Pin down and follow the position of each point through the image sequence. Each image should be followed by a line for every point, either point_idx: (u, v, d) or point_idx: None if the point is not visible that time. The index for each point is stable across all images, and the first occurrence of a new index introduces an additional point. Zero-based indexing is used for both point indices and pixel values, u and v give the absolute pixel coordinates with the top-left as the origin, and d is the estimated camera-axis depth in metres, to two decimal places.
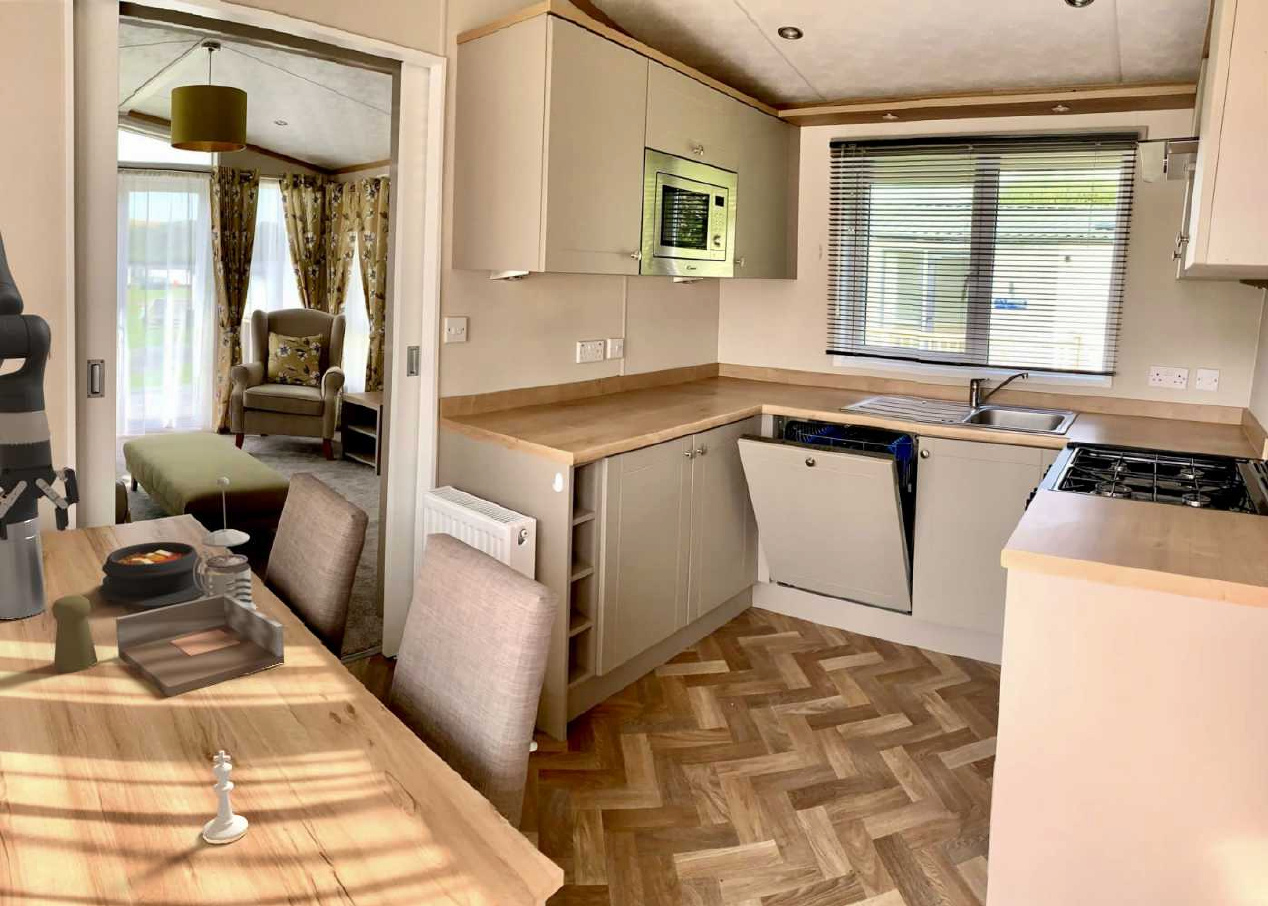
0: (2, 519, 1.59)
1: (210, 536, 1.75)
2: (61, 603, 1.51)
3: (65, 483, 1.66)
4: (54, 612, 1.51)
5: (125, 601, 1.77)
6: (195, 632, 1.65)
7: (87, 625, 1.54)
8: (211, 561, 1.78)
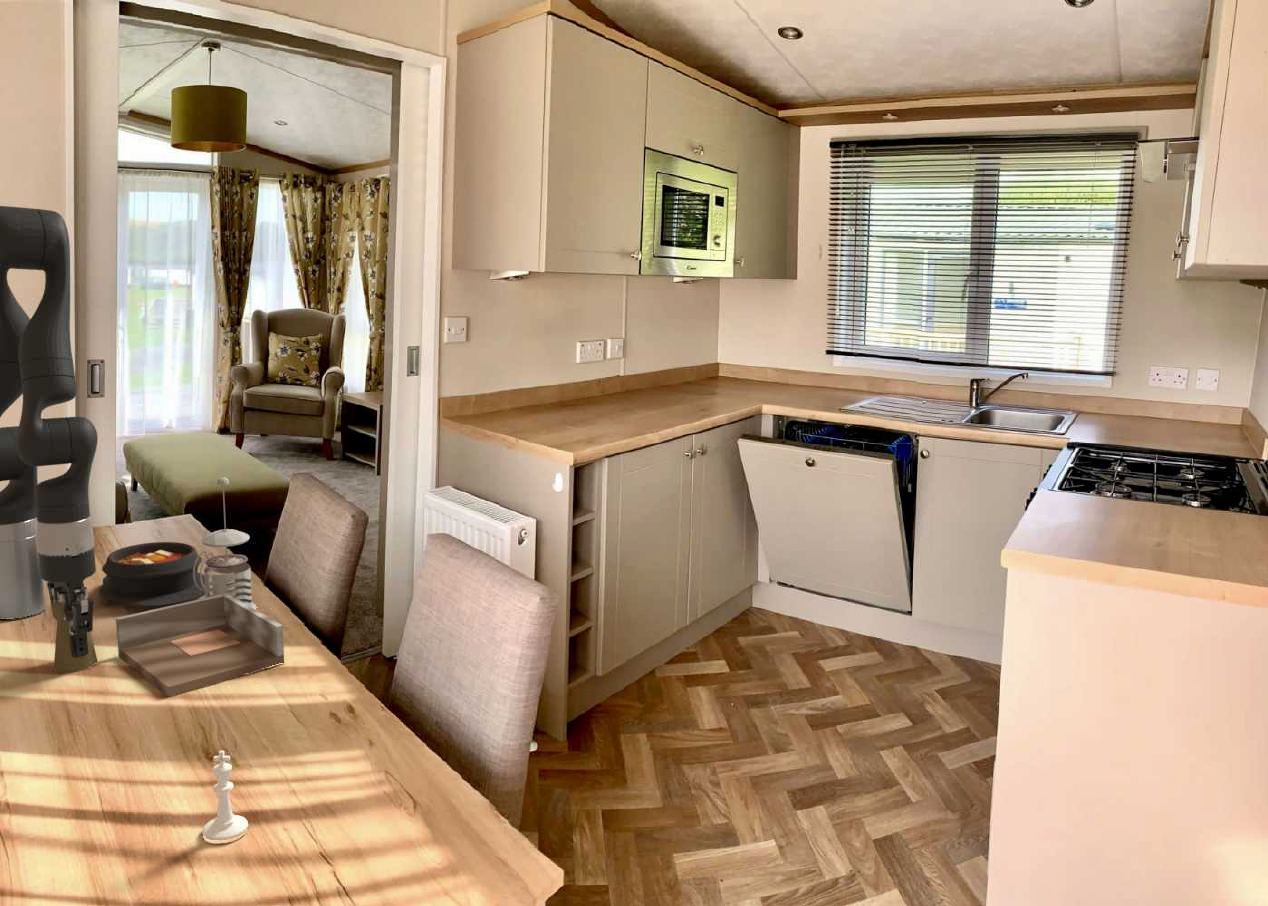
0: (85, 632, 1.53)
1: (210, 536, 1.75)
2: None
3: None
4: (54, 612, 1.51)
5: (125, 601, 1.77)
6: (195, 632, 1.65)
7: None
8: (211, 561, 1.78)
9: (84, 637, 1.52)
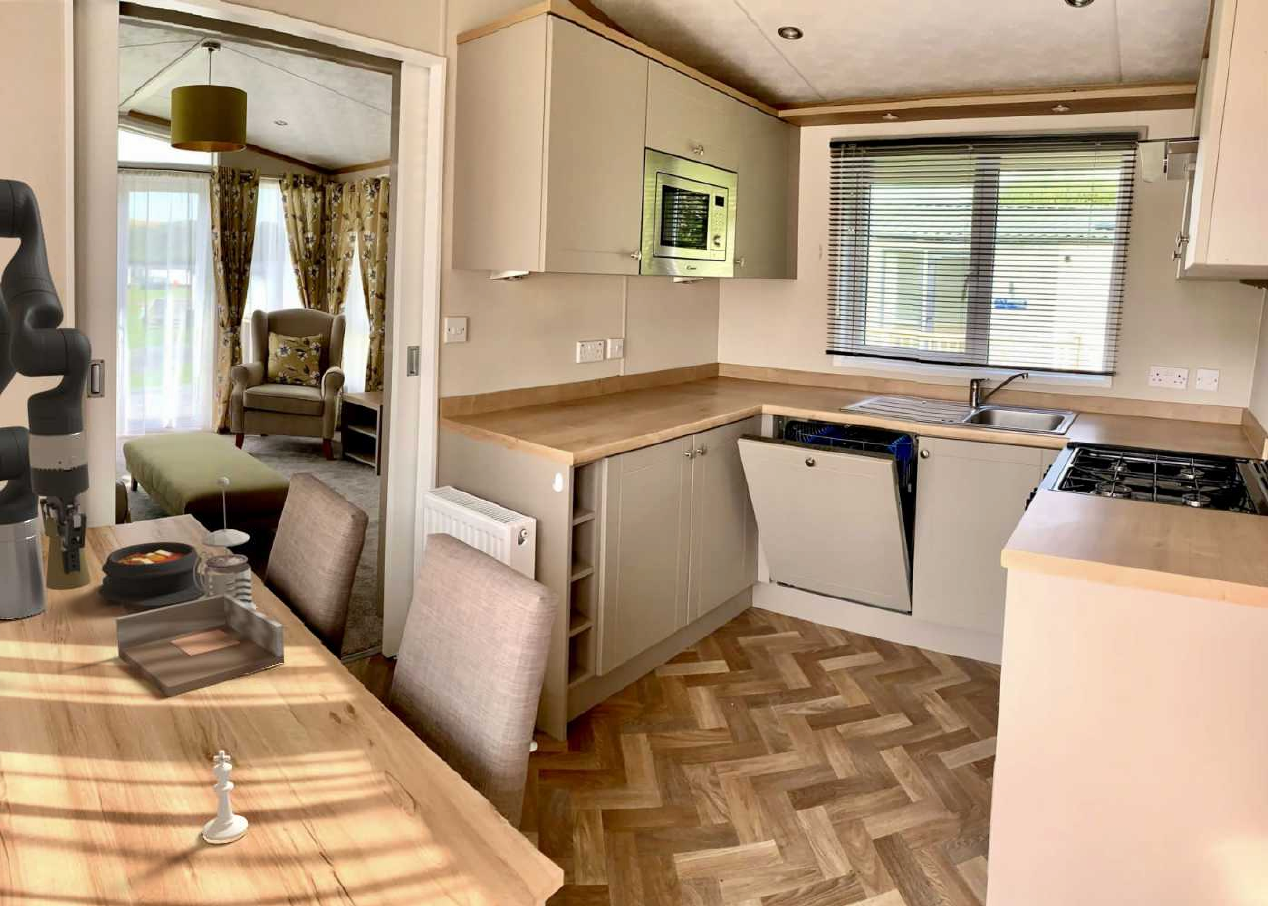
0: (78, 550, 1.50)
1: (210, 536, 1.75)
2: None
3: None
4: (46, 528, 1.48)
5: (125, 601, 1.77)
6: (195, 632, 1.65)
7: None
8: (211, 561, 1.78)
9: (76, 554, 1.49)
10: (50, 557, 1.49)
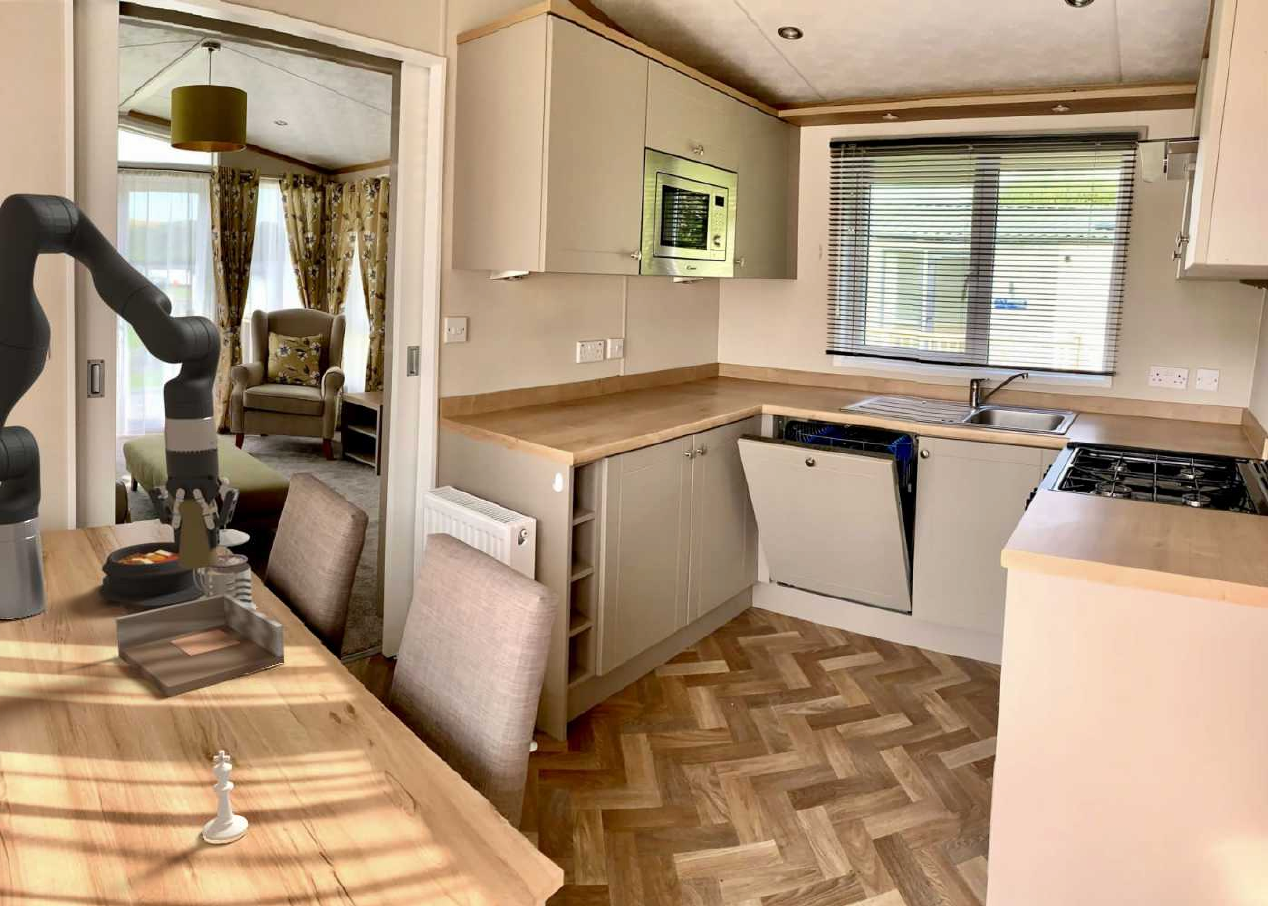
0: None
1: None
2: (195, 500, 1.54)
3: (162, 502, 1.55)
4: (191, 510, 1.54)
5: (125, 601, 1.77)
6: (195, 632, 1.65)
7: None
8: None
9: (218, 530, 1.57)
10: (193, 538, 1.55)
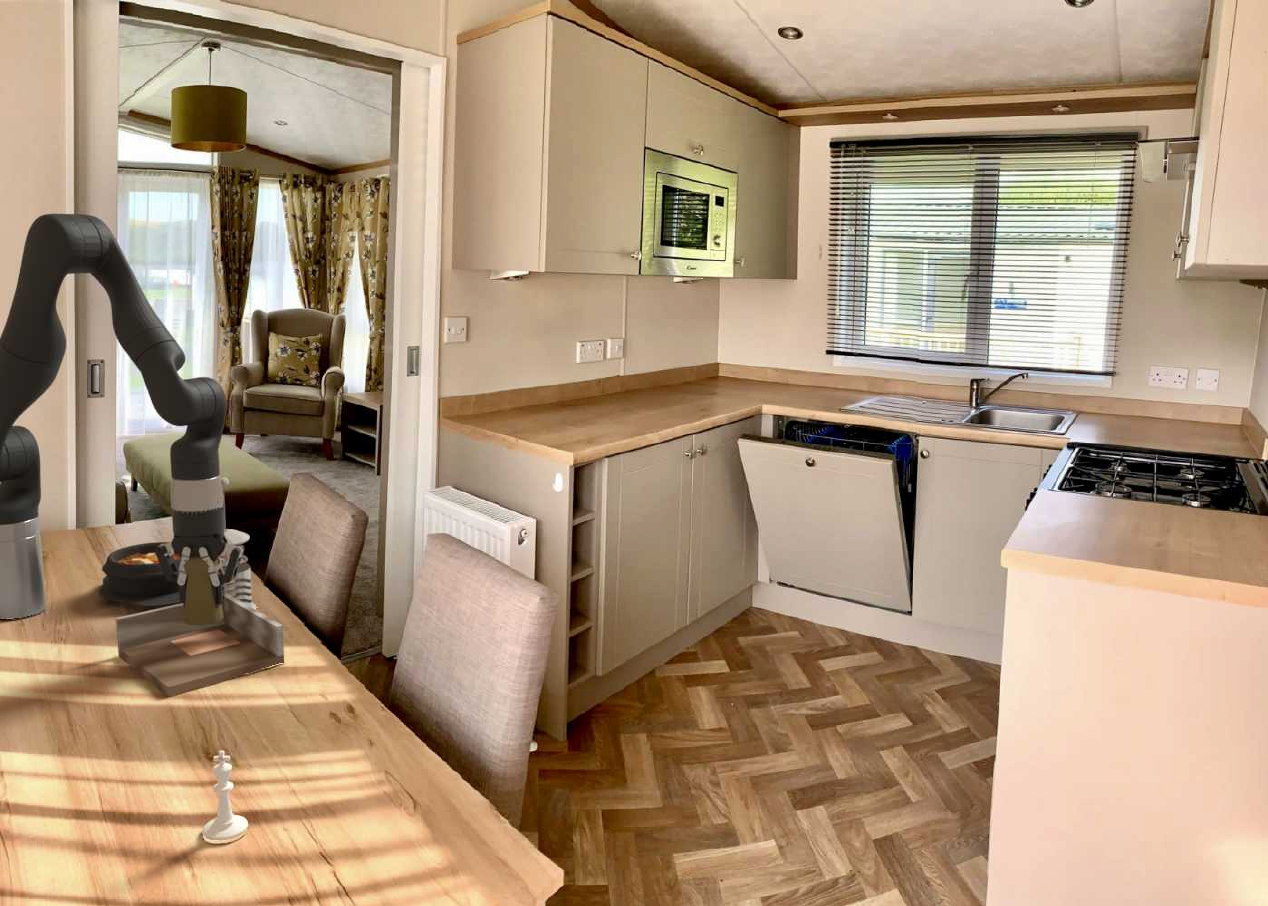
0: None
1: None
2: (201, 558, 1.57)
3: (168, 560, 1.58)
4: (197, 568, 1.56)
5: (125, 601, 1.77)
6: (195, 632, 1.65)
7: None
8: None
9: (223, 586, 1.60)
10: (199, 595, 1.57)
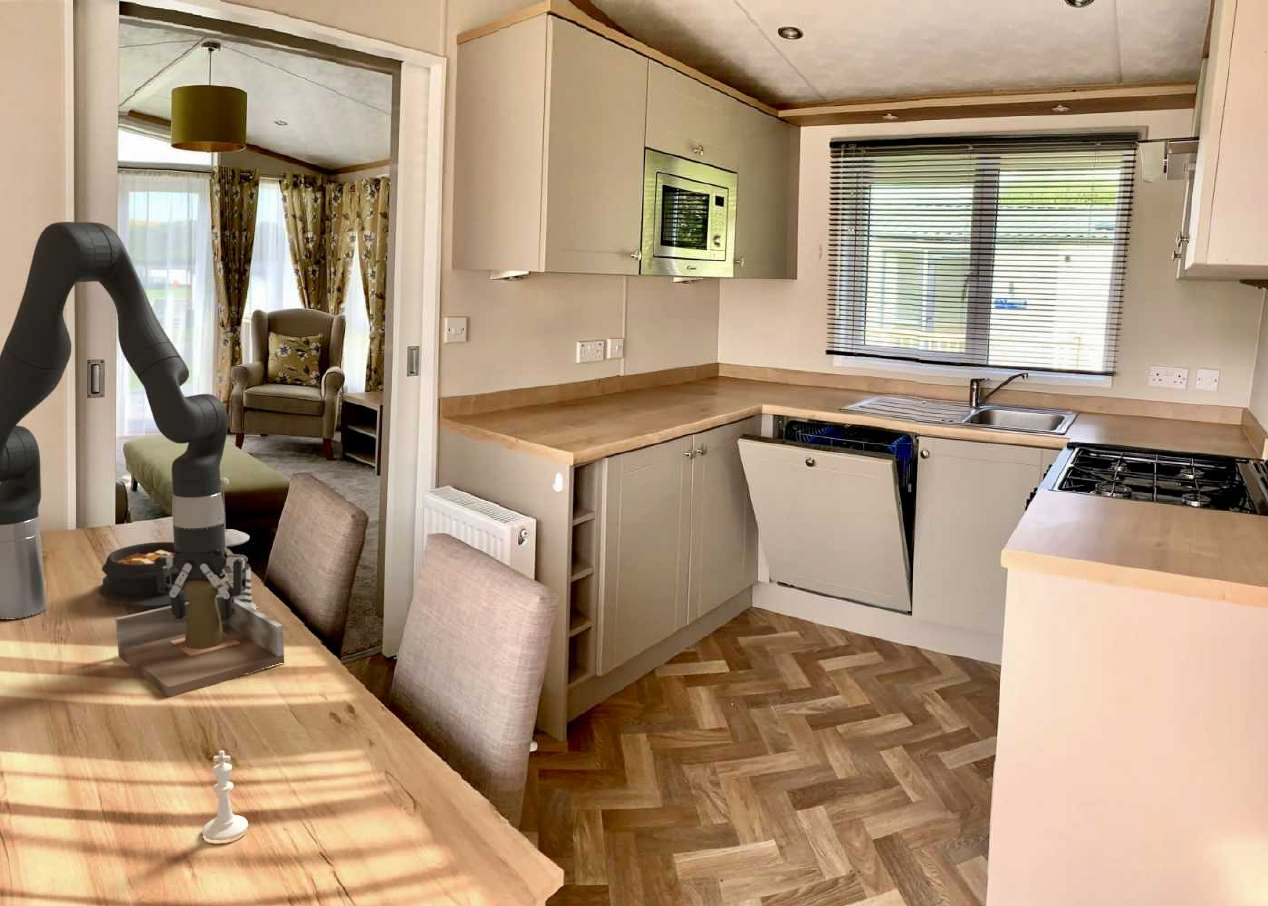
0: None
1: None
2: (202, 582, 1.58)
3: (165, 572, 1.58)
4: (198, 592, 1.57)
5: (125, 601, 1.77)
6: None
7: None
8: None
9: (233, 599, 1.60)
10: (200, 619, 1.58)
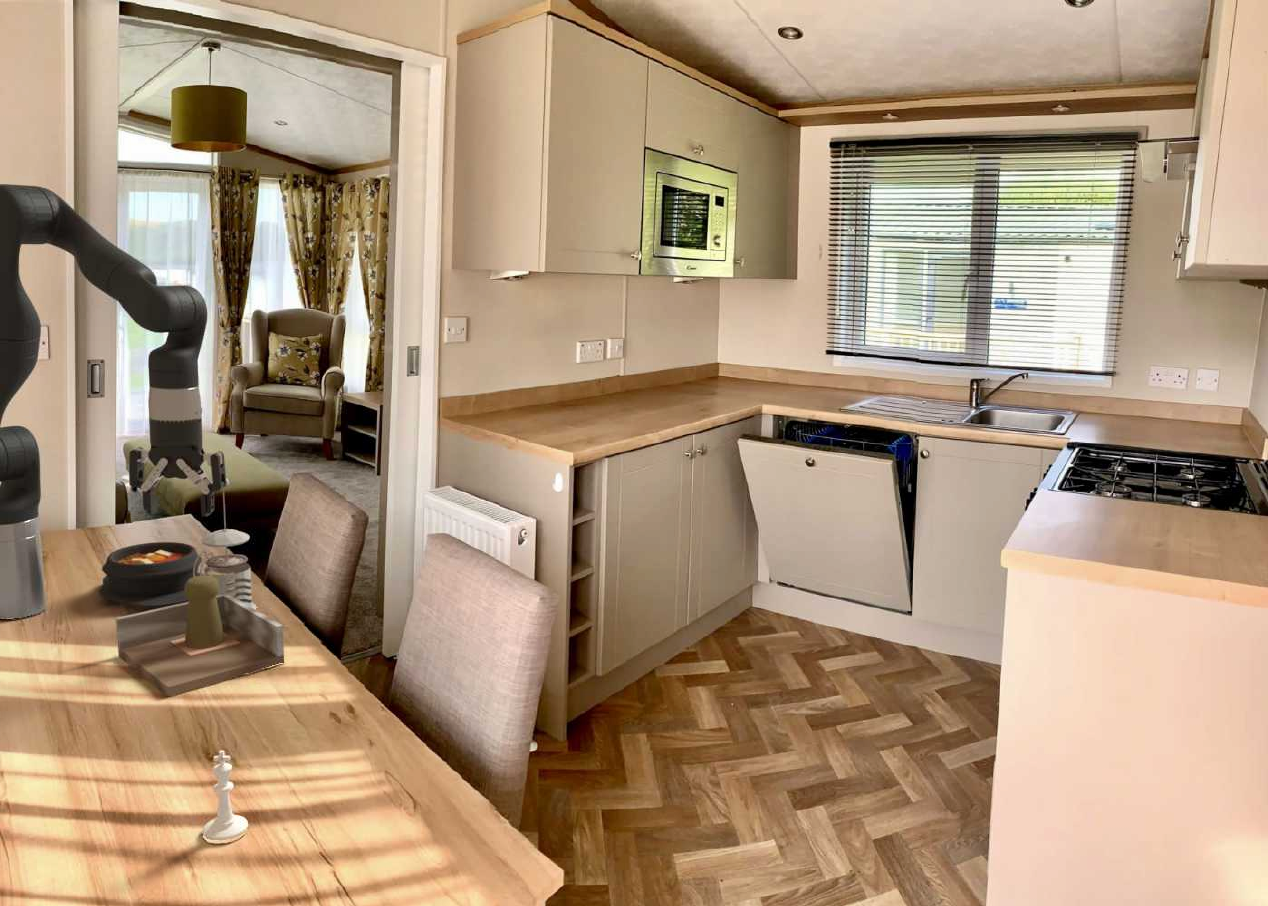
0: None
1: (210, 536, 1.75)
2: (202, 582, 1.58)
3: (139, 466, 1.55)
4: (198, 592, 1.57)
5: (125, 601, 1.77)
6: None
7: None
8: (211, 561, 1.78)
9: (213, 495, 1.57)
10: (200, 619, 1.58)
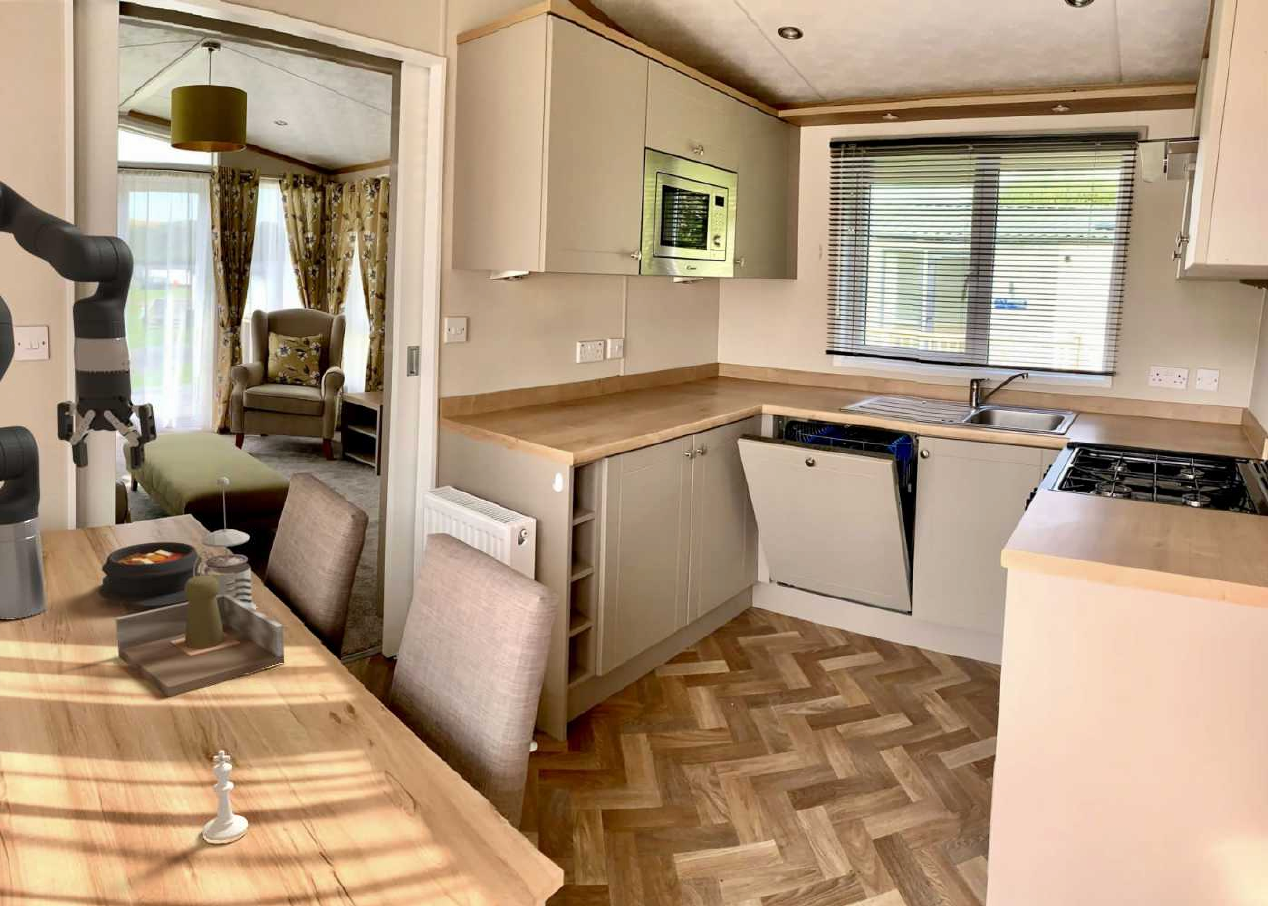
0: None
1: (210, 536, 1.75)
2: (202, 582, 1.57)
3: (67, 419, 1.54)
4: (198, 592, 1.57)
5: (125, 601, 1.77)
6: None
7: None
8: (211, 561, 1.78)
9: (143, 448, 1.57)
10: (200, 619, 1.58)
